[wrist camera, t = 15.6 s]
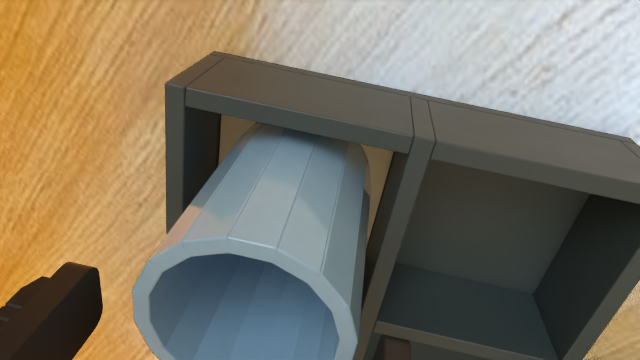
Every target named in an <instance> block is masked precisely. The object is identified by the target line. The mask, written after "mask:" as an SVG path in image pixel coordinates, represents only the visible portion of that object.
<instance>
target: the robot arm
mask: <svg viewBox="0 0 640 360" xmlns="http://www.w3.org/2000/svg"><path fill="white" fill-rule="evenodd" d="M102 309H103V304H102V295H101V286H100V277H99V271H98V269H97V268H95V267H90V266H86V265H81V264H77V263H73V262H67V263H65V264H64V265H62V266H61V267H60V268H59V269H58V270H57V271H56V272H55V274H54V275H53V276H52V277H51V278H48V277H43V276H42V277H40V278H39V279H37V280H35V281H33V282H31V283H30V284H28V285H26V286H24V287H22V288H21V289H20V290H19V291H18V292H17V293H16V294H15V295H14V296H13V297H12V298H11V299H10V300H9V301H8V302H7V303H6V305H5V306H4V307H3V306H2V307H1V308H0V360H72V359H73V358H74V356H75V355H76V354H77V352H78V351H79V350H80V348H81V347H82V346H83V344H84V343H85V342H86V340H87V339H88V337H89V336H90V335H91V333H92V332H93V331H94V329H95V328H96V326H97V324H98V322H99V320H100V318H101V314H102ZM373 360H411V345H410V341H409V340H406V339H402V338H398V337H393V336H389V335H384V334H382V335H381V337H380V340H379V343H378V345H377V348H376V351H375V354H374V357H373Z"/></svg>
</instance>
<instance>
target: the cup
mask: <svg viewBox="0 0 640 360" xmlns="http://www.w3.org/2000/svg"><path fill="white" fill-rule="evenodd" d="M370 196H371V173H370V166H369V162H368V159H367V156H366V154H365V151H364V149H363V148H362V146H361V145H360V144H358V143H353V142H349V141H344V140H339V139H335V138H330V137H325V136H321V135H316V134H312V133H307V132H302V131H298V130H293V129H288V128H284V127H279V126H274V125H270V124H265V123H260V122H256V123H254V124H253V125H252V126H251V127H250V128H249V129H248V130H247V131H246V132H244V133H243V134H242V135H241V137H240V138H239V139H238V141H237V142H236V143H235V145H234V146H233V147H232V149H231V150H230V151H229V153H228V154H227V155H226V157H225V158H224V159H223V161H222V162H221V163H220V165H219V166H218V167H217V169H216V170H215V171H214V173H213V174H212V175H211V177H210V178H209V179H208V181H207V182H206V183H205V185H204V186H203V187H202V189H201V190H200V191H199V193H198V194H197V195H196V197H195V198H194V199H193V201H192V202H191V203H190V205H189V206H188V207H187V209H186V210H185V211H184V213H183V214H182V215H181V216H180V218H179V219H178V220H177V222H176V223H175V224H174V226H173V227H172V228H171V230H170V231H169V232H168V234H167V235H166V236H165V238H164V239H163V240H162V242H161V243H160V244H159V246H158V247H157V248H156V250H155V251H154V252H153V254H152V255H151V256H150V258H149V259H148V260H147V262H146V264H145V265H144V267H143V269H142V271H141V273H140V275H139V276H138V278H137V280H136V282H135V284H134V285H133V289H132V299H133V315H134V321H135V324H136V326H137V328H138V329H139V331H140V333H141V335H142V336H143V338H144V340H145V342H146V344H147V345H148V347H149V349H150V350H151V351H152V353H153V354H154V355H155V356H156V357H158V358H159V359H160V360H353V358H354V355H355V352H356V349H357V345H358V340H359V328H360V316H361V304H362V292H363V280H364V268H365V256H366V244H367V232H368V220H369V208H370Z"/></svg>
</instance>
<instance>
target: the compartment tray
mask: <svg viewBox="0 0 640 360" xmlns="http://www.w3.org/2000/svg"><path fill="white" fill-rule="evenodd" d="M256 122H260V123H265V124H270V125H274V126H279V127H284V128H288V129H293V130H298V131H302V132H307V133H312V134H316V135H321V136H325V137H330V138H335V139H339V140H344V141H349V142H353V143H358V144H360V145H361V146H362V148H363V149H364V151H365V154H366V156H367V159H368V162H369V166H370V173H371V196H370V208H369V220H368V232H367V244H366V256H365V268H364V280H363V292H362V304H361V316H360V328H359V340H358V345H357V349H356V352H355V355H354V358H353V360H373V357H374V354H375V351H376V348H377V345H378V343H379V340H380V337H381V335H382V334H384V335H389V336H393V337H398V338H402V339H406V340H409V341H410V345H411V360H583V358H584V357H585V355H586V354H587V353H588V351H589V350H590V348H591V347H592V346H593V344H594V343H595V341H596V340H597V339H598V337H599V336H600V334H601V333H602V332H603V330H604V329H605V327H606V326H607V325H608V323H609V322H610V320H611V319H612V318H613V316H614V315H615V313H616V312H617V311H618V309H619V308H620V306H621V305H622V304H623V302H624V301H625V299H626V298H627V297H628V295H629V294H630V293H631V291H632V290H633V288H634V287H635V286H636V284H637V283H638V281H639V280H640V146H638V145H637V144H636V143H635V142H634V141H633V140H631V139H630V138H626V137H621V136H617V135H612V134H607V133H602V132H598V131H593V130H588V129H583V128H579V127H574V126H569V125H564V124H559V123H555V122H550V121H545V120H540V119H536V118H531V117H526V116H521V115H516V114H512V113H507V112H502V111H497V110H493V109H488V108H483V107H478V106H473V105H469V104H464V103H459V102H454V101H450V100H445V99H440V98H435V97H431V96H426V95H421V94H416V93H411V92H407V91H402V90H397V89H392V88H388V87H383V86H378V85H373V84H368V83H364V82H359V81H354V80H349V79H345V78H340V77H335V76H330V75H326V74H321V73H316V72H311V71H306V70H302V69H297V68H292V67H287V66H283V65H278V64H273V63H268V62H263V61H259V60H254V59H249V58H244V57H240V56H235V55H230V54H225V53H220V52H216V51H213V52H212V53H210V54H209V55H207V56H206V57H204V58H203V59H201V60H200V61H198V62H197V63H195V64H194V65H192V66H190V67H189V68H187V69H186V70H184V71H183V72H181V73H180V74H178V75H177V76H175V77H174V78H172V79H170V80H169V81H167V82H166V83H165V134H166V233H167V234H168V232H169V231H170V230H171V228H172V227H173V226H174V224H175V223H176V222H177V220H178V219H179V218H180V216H181V215H182V214H183V213H184V211H185V210H186V209H187V207H188V206H189V205H190V203H191V202H192V201H193V199H194V198H195V197H196V195H197V194H198V193H199V191H200V190H201V189H202V187H203V186H204V185H205V183H206V182H207V181H208V179H209V178H210V177H211V175H212V174H213V173H214V171H215V170H216V169H217V167H218V166H219V165H220V163H221V162H222V161H223V159H224V158H225V157H226V155H227V154H228V153H229V151H230V150H231V149H232V147H233V146H234V145H235V143H236V142H237V141H238V139H239V138H240V137H241V135H242V134H243V133H244V132H246V131H247V130H248V129H249V128H250V127H251V126H252V125H253V124H254V123H256Z"/></svg>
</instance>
